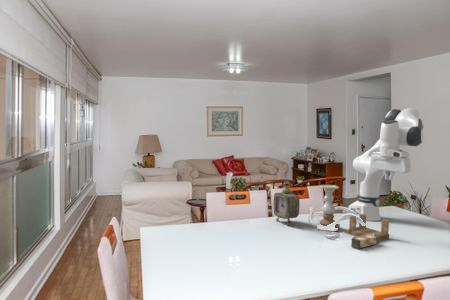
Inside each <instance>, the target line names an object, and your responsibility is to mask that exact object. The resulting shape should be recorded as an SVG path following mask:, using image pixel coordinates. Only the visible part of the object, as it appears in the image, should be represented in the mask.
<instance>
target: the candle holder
mask: <svg viewBox="0 0 450 300" xmlns="http://www.w3.org/2000/svg"><path fill="white" fill-rule="evenodd" d="M319 188H320V189H323V191H324V192H325V195H324V197H323V198H324V200H325V202H324V204H323V205H322V207H321V211H322V213H323V214H322V217H323V218H322V219H321V220H319V222H320V224H321V225H323V226H327V225H329V224H331V223H333V222H335V221H336V220H335V219H334V218H335V215H334V214H335V213H336V207H335V205H334V204H333V199H335V197H334V195H333V193H334V191H335V190H338V189H339V188H340V187H339V186H338V185H335V184H319ZM339 227H341V226H340V223H338V224H336V225H335V228H339ZM339 229H340V228H339Z"/></svg>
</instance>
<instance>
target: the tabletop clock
mask: <svg viewBox="0 0 450 300" xmlns="http://www.w3.org/2000/svg"><path fill="white" fill-rule="evenodd" d="M285 183H288V184H289V186H288V185H285ZM282 186H283V187H284V188H283V189H282V191H281V192H274V195H273V213H274V215H275V216H276V217H277V218H276V219H275V221H276V222H279V221H280V220H279V219H283V220H287V223H286V226H290V223H291V219H297V217H298V216H299V214H300V197H299V196H298V195H296V193H293V192H292V191H291V190H290V188H291V183H290V181H288V180H284V181H283V182H282Z"/></svg>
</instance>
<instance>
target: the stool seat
mask: <svg viewBox="0 0 450 300" xmlns="http://www.w3.org/2000/svg"><path fill="white" fill-rule="evenodd" d="M359 218H361V219H362V220H363V222H364V223H365V224H366V225H365V226H362V225H361V224H360V223H359V222H358V224H359V225H358V226H357V220H358V219H357V217H356V216H350V217H349V228H348V232H347V233H348V235H352V236H354V237H356V236H362V237H363V236H367V235H373V233H375V234H376V237H377V236H378V237H379V242H382V241H385V240H386V241H387V240H389V239H390V233H389V230H390V228H389V227H390V221H389V220H388V219H381V224H380V225H381V226H380V227H381V230H380V231H379V230H376V229H373V228H369V227H367V220H366V215H365V214H360V215H359Z"/></svg>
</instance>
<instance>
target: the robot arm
mask: <svg viewBox="0 0 450 300" xmlns="http://www.w3.org/2000/svg"><path fill="white" fill-rule="evenodd" d="M423 129H424V124H423V121H422V119H421V118H420V112H419V110H418V109H417V108H414V107H407V108H404V109H403V110H401V109H398V108H394V109H391V110H389V111H388V112H387V113H386V115H385V118H384V121H382V122H381V126H380V132H379V139H378V140H377V141H376V142H375V144H374V145H373V146H372V147H371V148H369V149H368V150H367V151H366V152H364V153H363V154H361V155H358V156H356V157H355V158H354V159H353V162H352V168H353V169H354V170H355V171H357V172H358V173H361V174H365V177H364V179H363V180H362V181H361V182H360V183H359V184H360V185H359V194H358V195H356V196H355V198H356V201H354V202H352V203H350V204H349V205H348V207H347V210H348V209H351V210H353V211H354V212H355V213H356V214H357V215H358V216H359V215H360V214H365V215H366V222H367V221H369V222H377V221H382V217H381V214H380V200H381V199H380V185H381V181H382V179H383V177H384V180H387V181H393V180H394V179H393V178H394V176H395V174H396V173H401V174H402V173H403V174H408V173H410V172H411V169H412V168H411V159H410V153H409V152H408V151H406V150H403V149H400V146H404V147H405V146H407V147H409V146H410V147H418V146H420V145H421V144H422V143H423V140H424V132H423ZM388 173H389V174H388Z"/></svg>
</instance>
